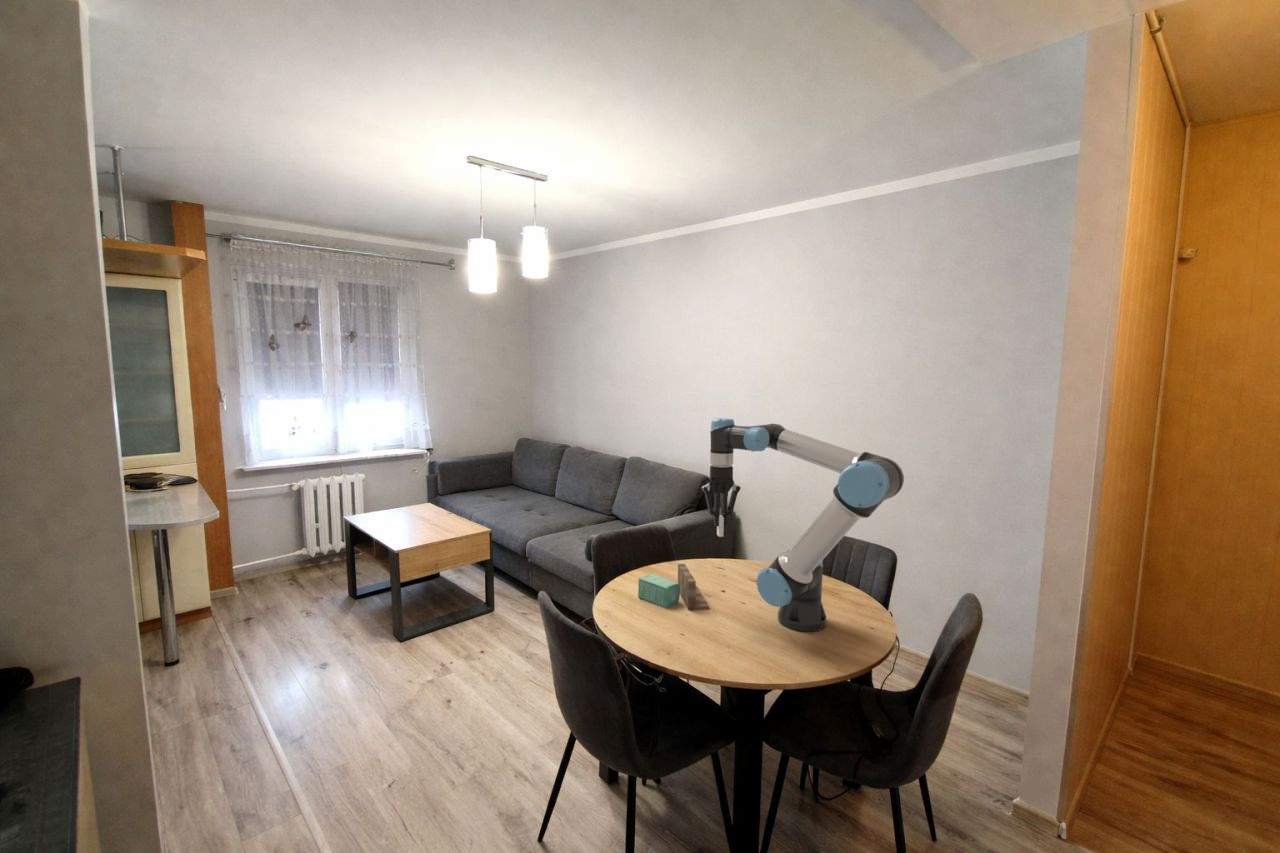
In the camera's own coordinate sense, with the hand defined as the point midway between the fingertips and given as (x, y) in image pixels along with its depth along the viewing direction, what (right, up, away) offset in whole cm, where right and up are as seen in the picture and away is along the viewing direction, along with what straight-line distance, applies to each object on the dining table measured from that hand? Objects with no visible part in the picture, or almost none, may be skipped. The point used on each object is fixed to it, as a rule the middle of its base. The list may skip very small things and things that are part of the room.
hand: (720, 535), depth 184 cm
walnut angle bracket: (-8, -25, +13) cm, 30 cm away
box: (-20, -26, +12) cm, 35 cm away
